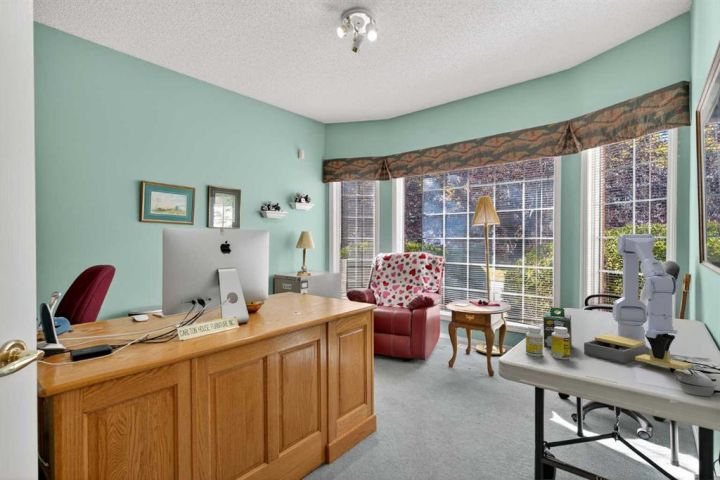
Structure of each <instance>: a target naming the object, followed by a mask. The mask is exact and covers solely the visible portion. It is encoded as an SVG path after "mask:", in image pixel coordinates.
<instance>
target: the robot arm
mask: <svg viewBox="0 0 720 480" xmlns="http://www.w3.org/2000/svg"><path fill="white" fill-rule="evenodd" d="M655 242H656V240H655V237H654V235H653V234H652V233H620V234H619V235H618V238H617V245H616V246H617V255H620V256H621V257H622V297H620V298H618V299H616V300H614V301H613V307H612V318H613V320H614V321H615V322H617V336H620V337H625V338H630V339H635V340H640V341H645V342H646V340H647V341H648V343H649V345H650V349H652V352H653V356H654V358H657V359H662V360H663V358H664V355H665V351H669V350H670V348H671V345H672V343H673V341H674V340H675V339H676V336H675V334H678V331H679V330H675V329H674V326H673V296H674V295H675V293H676V292H677V289H678V288H677V287H678V286H677V280H676V279H675V277H674V276H673V275H671V274H670V273H669V274H668V273H667V272H666V269H665V268H664V265H663V264H662V263H663V262H661V261H660V260H659V259H656V258H655V255H654V253H653V250H654V248H655V245H656V243H655ZM640 262H641V263H640ZM639 263H640V264H639ZM639 267H640V269H639ZM640 270H641V273H642V275H643V277H644V288H645V292H646V293H645V295H646V299H647V305H648V307H647V305H646V303H644V302H643V301H642V300H640V299H639V278H640V277H639V276H640V275H639V274H640V273H639V271H640ZM647 308H648V309H647ZM646 323H647V330H645V327H644V324H646ZM645 333H646V334H645ZM647 347H648V345H647V344H645V348H647Z"/></svg>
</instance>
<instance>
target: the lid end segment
mask: <svg viewBox="0 0 720 480" xmlns="http://www.w3.org/2000/svg"><path fill="white" fill-rule="evenodd" d="M634 361H639V362H643V363H647V364H653V365H657V366H662V367H666V368H671V369H675V370H679V369H680V370H679V371H686V370H689V369H690V368H693V363H689V362H685V361H681V360H675V359H671V352H670V351H665V355H664V358H663V360H662V359H657V358H654V356H653V352H652V349H651V348H649V354H647V353H645V354H643V355H640V356H636V357H635V360H634Z"/></svg>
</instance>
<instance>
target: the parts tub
mask: <svg viewBox="0 0 720 480" xmlns="http://www.w3.org/2000/svg"><path fill="white" fill-rule="evenodd" d="M645 345H646V340H645V341H640V340H635V339H630V338H625V337H620V336H618V335H613V334H609V333H606V334H601V335H597V336H595V337H594V340H593V339H592V340H588V341H585V342H583V349H584V351H583V355H587V356H592V357H595V358H599V359H603V360H607V361H611V362H615V363H619V364H623V365H624V364H627V363H630V362H633V361H636V360H635V357H636V356H640V355H643V354H646V347H645Z"/></svg>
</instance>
